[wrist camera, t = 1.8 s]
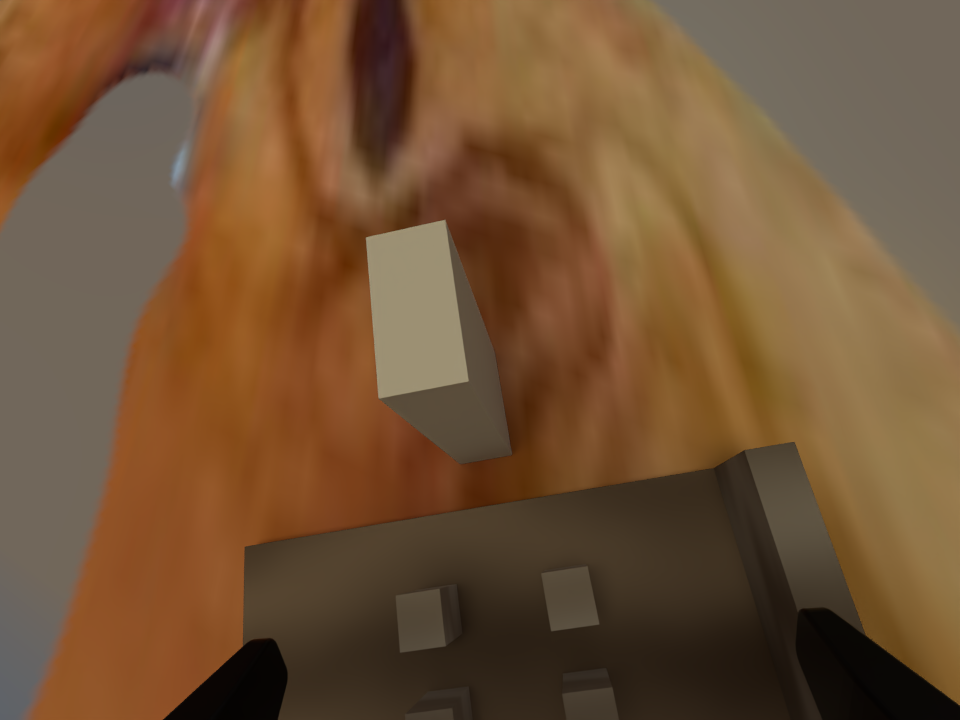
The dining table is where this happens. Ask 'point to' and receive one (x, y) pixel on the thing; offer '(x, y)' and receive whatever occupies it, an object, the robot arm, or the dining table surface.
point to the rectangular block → (434, 344)
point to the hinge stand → (561, 604)
